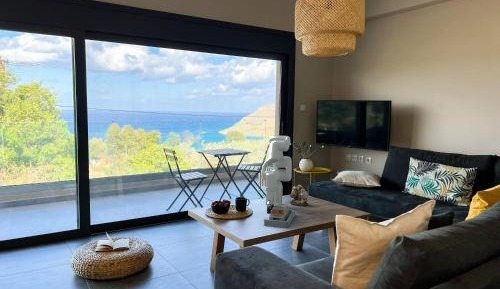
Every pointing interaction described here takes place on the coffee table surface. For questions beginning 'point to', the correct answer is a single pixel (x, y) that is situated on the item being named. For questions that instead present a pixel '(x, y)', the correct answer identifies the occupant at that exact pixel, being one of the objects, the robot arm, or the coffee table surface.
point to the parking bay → (280, 223)
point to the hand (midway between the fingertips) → (270, 212)
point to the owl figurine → (299, 196)
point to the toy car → (279, 212)
